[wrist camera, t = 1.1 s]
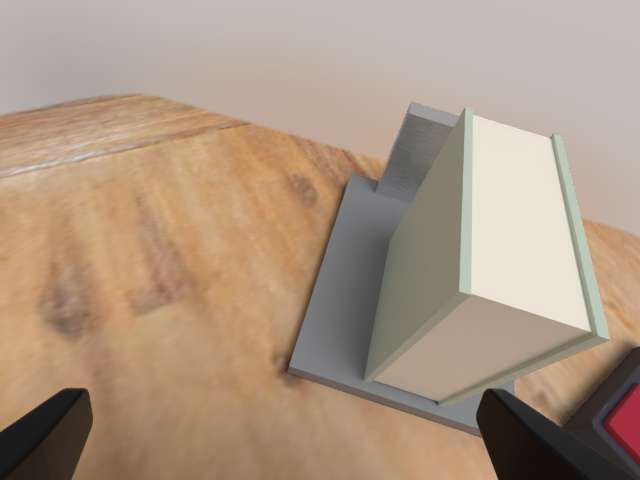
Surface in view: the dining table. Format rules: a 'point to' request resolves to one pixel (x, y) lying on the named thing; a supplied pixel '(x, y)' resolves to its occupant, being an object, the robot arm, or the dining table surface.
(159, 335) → the dining table surface
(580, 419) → the calculator
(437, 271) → the book
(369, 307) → the shelf board
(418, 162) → the bookend
